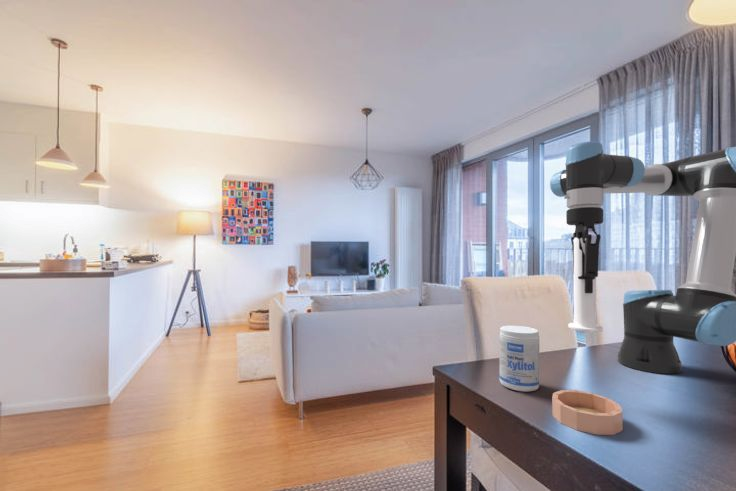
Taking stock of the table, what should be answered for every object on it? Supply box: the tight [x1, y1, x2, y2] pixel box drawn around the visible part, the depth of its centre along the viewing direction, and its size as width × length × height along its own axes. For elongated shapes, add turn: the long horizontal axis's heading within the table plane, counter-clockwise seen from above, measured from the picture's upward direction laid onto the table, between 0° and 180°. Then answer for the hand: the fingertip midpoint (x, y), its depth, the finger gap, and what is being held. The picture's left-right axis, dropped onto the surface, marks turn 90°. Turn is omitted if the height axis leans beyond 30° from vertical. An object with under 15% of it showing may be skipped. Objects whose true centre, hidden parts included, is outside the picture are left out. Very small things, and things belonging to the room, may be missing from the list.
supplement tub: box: [498, 325, 540, 393], centre depth 89 cm, size 10×10×15 cm
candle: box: [567, 238, 604, 333], centre depth 82 cm, size 7×7×25 cm
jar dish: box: [551, 389, 624, 436], centre depth 71 cm, size 12×12×4 cm
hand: (585, 305), depth 82 cm, fingers closed on candle, 2 cm apart
